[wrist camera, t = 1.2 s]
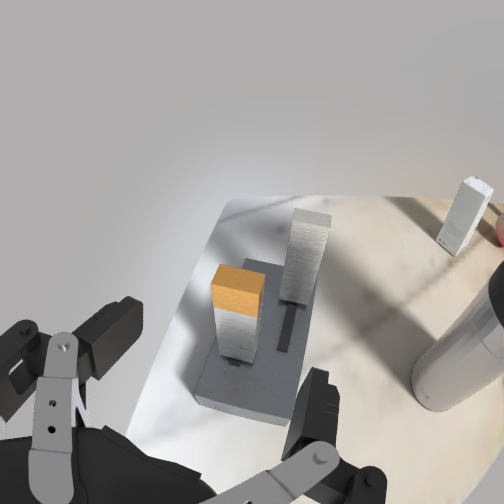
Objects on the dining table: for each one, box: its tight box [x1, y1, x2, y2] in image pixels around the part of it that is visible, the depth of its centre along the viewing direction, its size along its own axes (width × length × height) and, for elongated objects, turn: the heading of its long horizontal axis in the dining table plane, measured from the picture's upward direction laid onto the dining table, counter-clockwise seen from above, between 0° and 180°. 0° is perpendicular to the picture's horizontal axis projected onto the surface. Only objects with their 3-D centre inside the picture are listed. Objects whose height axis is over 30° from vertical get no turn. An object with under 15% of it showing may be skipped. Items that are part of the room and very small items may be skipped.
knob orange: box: [211, 264, 266, 363], centre depth 26 cm, size 2×4×12 cm, turn 75°
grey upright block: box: [279, 208, 331, 305], centre depth 31 cm, size 2×4×12 cm, turn 75°
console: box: [194, 258, 318, 426], centre depth 34 cm, size 20×10×4 cm, turn 165°
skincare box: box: [436, 176, 494, 257], centre depth 46 cm, size 8×6×15 cm
